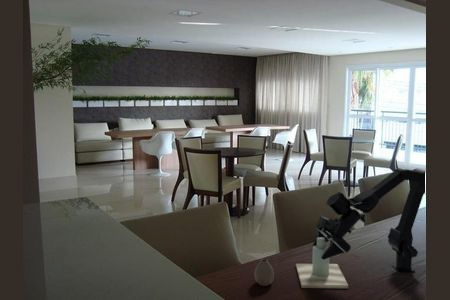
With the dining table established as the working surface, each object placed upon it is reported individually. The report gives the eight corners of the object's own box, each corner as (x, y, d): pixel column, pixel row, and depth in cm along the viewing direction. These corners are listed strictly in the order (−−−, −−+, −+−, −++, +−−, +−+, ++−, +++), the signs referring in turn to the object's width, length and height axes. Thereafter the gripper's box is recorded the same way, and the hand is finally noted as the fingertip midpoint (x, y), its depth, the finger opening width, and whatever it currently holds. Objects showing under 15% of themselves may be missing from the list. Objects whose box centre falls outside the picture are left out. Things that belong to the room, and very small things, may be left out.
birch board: (348, 288, 140) (348, 285, 139) (301, 287, 141) (301, 284, 140) (337, 266, 157) (337, 264, 157) (296, 266, 158) (296, 263, 158)
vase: (277, 283, 145) (277, 259, 144) (266, 289, 140) (265, 265, 139) (262, 277, 149) (262, 255, 148) (250, 284, 144) (250, 260, 143)
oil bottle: (332, 274, 148) (333, 239, 146) (319, 278, 145) (320, 242, 143) (321, 269, 153) (321, 234, 151) (309, 272, 150) (309, 237, 148)
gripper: (320, 202, 156) (293, 232, 155) (343, 215, 137) (312, 249, 137) (339, 220, 158) (312, 250, 157) (363, 236, 140) (333, 269, 139)
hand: (317, 253), depth 148 cm, fingers open, 9 cm apart
